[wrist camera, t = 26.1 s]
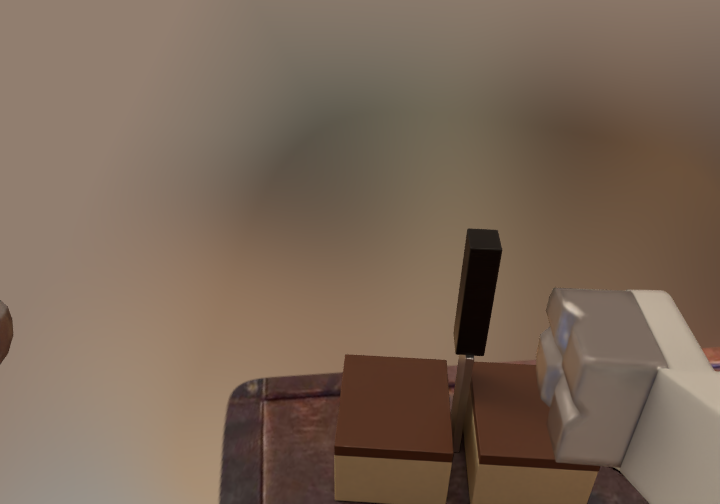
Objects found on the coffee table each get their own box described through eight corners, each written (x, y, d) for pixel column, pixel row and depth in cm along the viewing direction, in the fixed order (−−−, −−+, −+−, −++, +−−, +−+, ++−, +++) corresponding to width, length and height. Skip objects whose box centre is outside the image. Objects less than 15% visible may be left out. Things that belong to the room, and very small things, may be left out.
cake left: (334, 500, 46) (334, 446, 43) (344, 406, 53) (345, 354, 50) (445, 507, 46) (453, 453, 42) (439, 412, 53) (446, 359, 50)
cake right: (470, 509, 46) (480, 455, 42) (461, 413, 53) (469, 361, 50) (582, 516, 45) (602, 462, 42) (557, 419, 53) (572, 366, 49)
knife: (442, 451, 50) (470, 250, 39) (440, 422, 52) (466, 225, 42) (468, 453, 50) (503, 252, 39) (465, 423, 52) (497, 227, 42)
